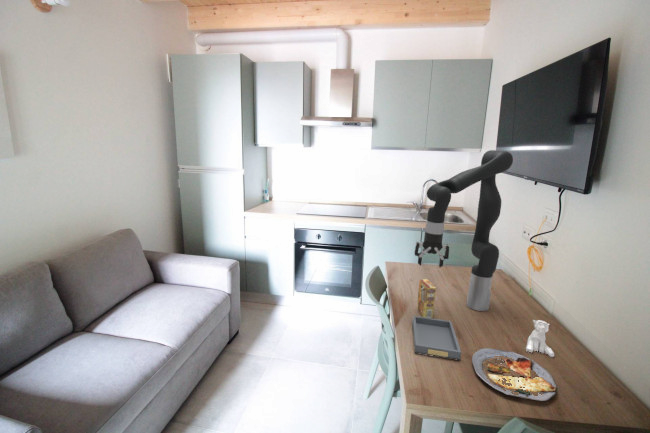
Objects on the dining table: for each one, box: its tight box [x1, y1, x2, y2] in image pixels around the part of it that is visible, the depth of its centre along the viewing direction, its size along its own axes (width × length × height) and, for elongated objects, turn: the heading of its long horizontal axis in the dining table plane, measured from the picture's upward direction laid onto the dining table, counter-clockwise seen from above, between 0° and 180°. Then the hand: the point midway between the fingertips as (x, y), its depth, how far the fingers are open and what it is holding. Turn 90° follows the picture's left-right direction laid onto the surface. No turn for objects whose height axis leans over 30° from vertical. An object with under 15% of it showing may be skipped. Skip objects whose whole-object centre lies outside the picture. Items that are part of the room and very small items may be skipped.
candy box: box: [416, 278, 437, 319], centre depth 142 cm, size 9×4×15 cm, turn 8°
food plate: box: [471, 347, 558, 402], centre depth 106 cm, size 25×23×4 cm
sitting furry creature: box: [525, 319, 555, 358], centre depth 120 cm, size 10×9×12 cm
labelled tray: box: [411, 315, 462, 361], centre depth 124 cm, size 16×21×4 cm
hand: (429, 265), depth 138 cm, fingers open, 8 cm apart
